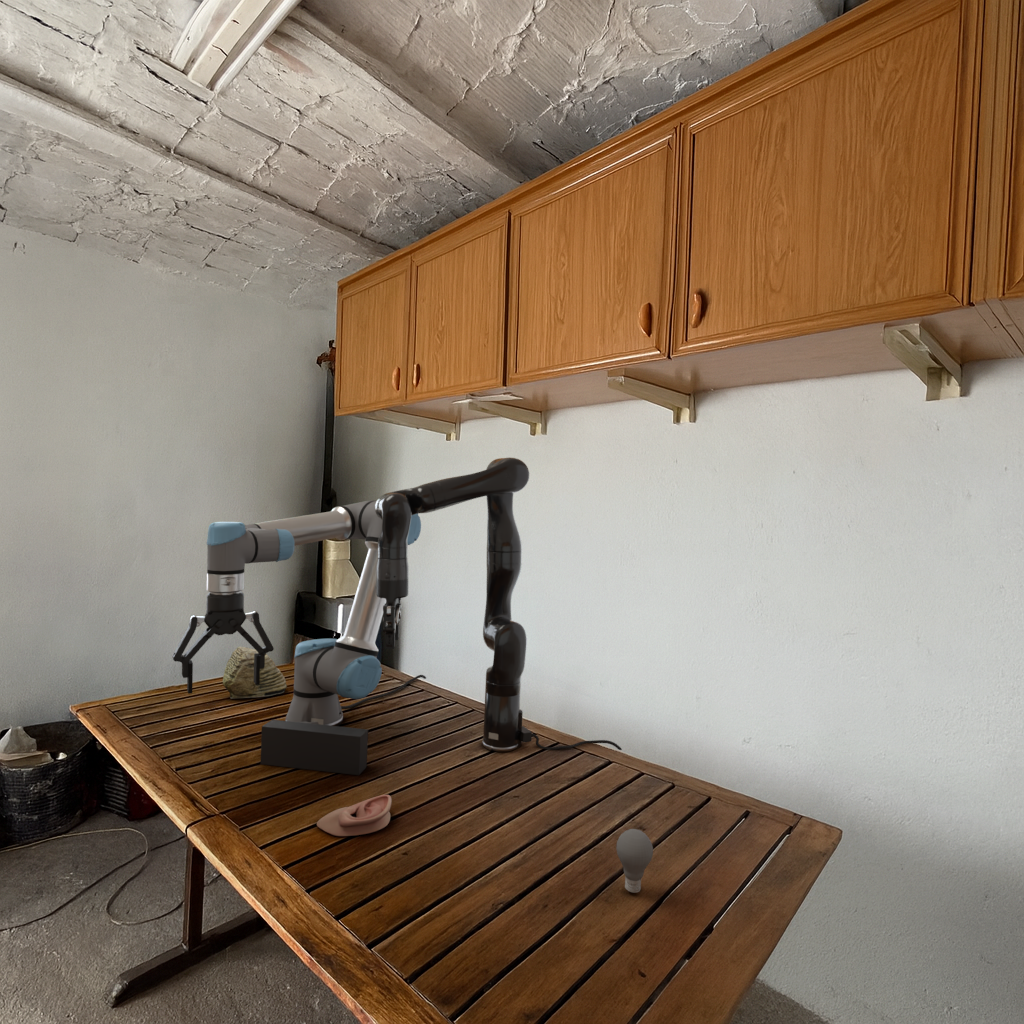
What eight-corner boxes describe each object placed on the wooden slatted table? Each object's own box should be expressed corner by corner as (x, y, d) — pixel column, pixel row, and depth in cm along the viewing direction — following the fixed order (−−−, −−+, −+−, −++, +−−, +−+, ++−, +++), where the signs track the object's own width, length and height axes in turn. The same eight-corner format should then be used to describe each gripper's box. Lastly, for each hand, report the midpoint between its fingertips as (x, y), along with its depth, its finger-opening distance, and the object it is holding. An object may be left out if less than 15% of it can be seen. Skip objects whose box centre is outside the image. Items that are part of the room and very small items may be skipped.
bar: (260, 764, 148) (261, 726, 148) (271, 756, 153) (272, 719, 153) (358, 775, 145) (360, 736, 145) (366, 767, 149) (368, 729, 149)
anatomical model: (309, 810, 119) (337, 784, 131) (308, 831, 119) (337, 803, 131) (375, 821, 117) (398, 793, 128) (374, 842, 117) (397, 812, 128)
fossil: (218, 695, 195) (220, 647, 195) (278, 685, 208) (279, 640, 207) (228, 703, 189) (230, 653, 188) (289, 692, 201) (290, 645, 201)
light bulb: (610, 879, 108) (613, 822, 108) (644, 879, 109) (647, 822, 109) (619, 902, 102) (622, 840, 102) (655, 901, 103) (658, 840, 103)
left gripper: (162, 598, 130) (160, 700, 130) (288, 591, 143) (286, 684, 144) (159, 592, 136) (158, 690, 137) (280, 586, 149) (278, 675, 150)
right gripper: (405, 581, 144) (404, 651, 145) (411, 572, 158) (410, 637, 159) (372, 581, 143) (371, 651, 144) (380, 572, 158) (380, 637, 158)
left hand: (224, 687), depth 140 cm, fingers open, 13 cm apart
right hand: (392, 644), depth 151 cm, fingers open, 8 cm apart
